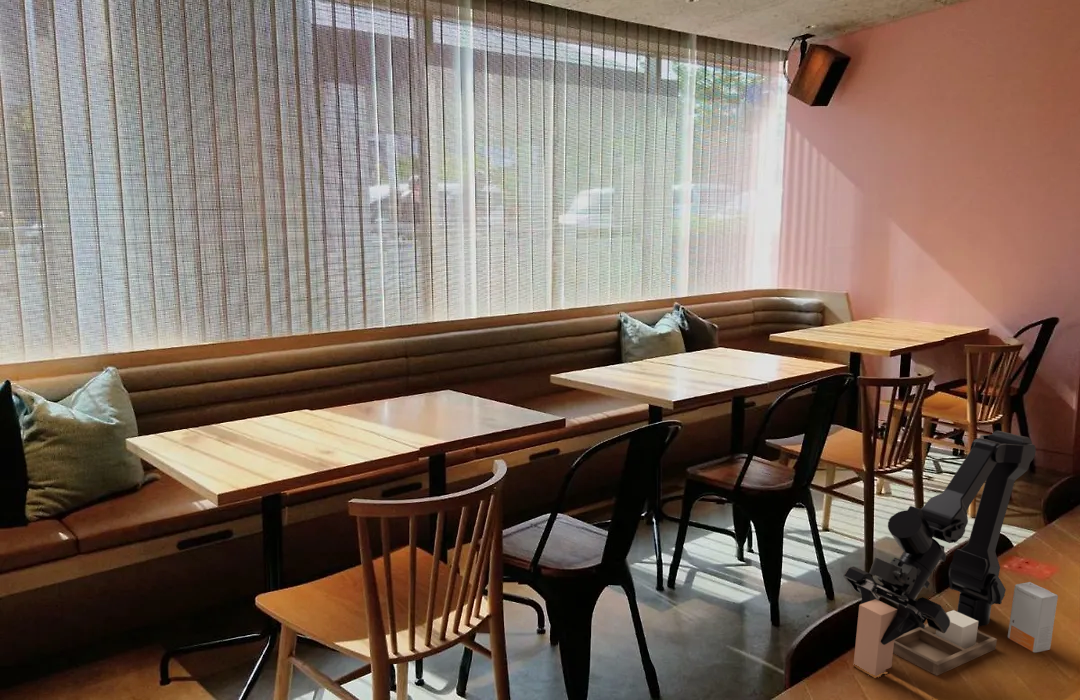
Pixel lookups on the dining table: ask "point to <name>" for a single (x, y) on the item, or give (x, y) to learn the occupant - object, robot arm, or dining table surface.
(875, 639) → the terracotta peg
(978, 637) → the walnut slot tray
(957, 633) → the cream block
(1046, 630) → the skincare box
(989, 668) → the dining table surface
